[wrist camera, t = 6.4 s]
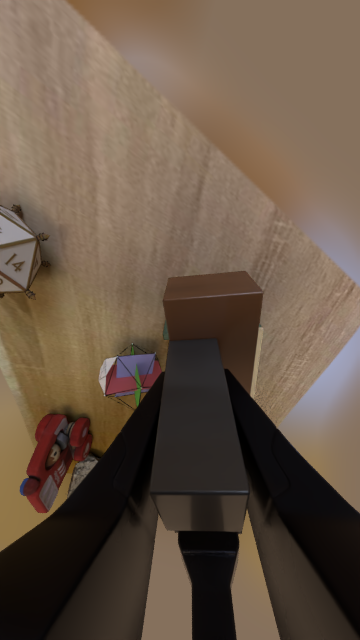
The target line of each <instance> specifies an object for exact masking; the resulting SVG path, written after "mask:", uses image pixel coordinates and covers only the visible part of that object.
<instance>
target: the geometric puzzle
mask: <svg viewBox="0 0 360 640" xmlns="http://www.w3.org/2000/svg"><path fill="white" fill-rule="evenodd" d="M131 345H132V348H131V355H127V356H119V355H117V356H116V357H112V358H107V359H105V361H104V363H103V365H102V367H101V369H100V374H99V383H100V385H101V388H102V390H103V392H104V396H107V395H112V394H116V395H115V396H112V397H118V396H125V395H131V394H135V399H136V404H137V407H138V405H139V404H140V397H141V393H144V392H148V391H149V389H150V388H151V386H152V385H153V384H154V382H155V381H156V379H157V378H158V376H159V375H160V373H161V372H162V370H161V367H160V364H159V360H157V359H158V358H157V359H156V360H157V361H154V360H155V355H156V352H155V353H151V354H139V355H134V350H133V345H134V344H133V343H132V344H131ZM131 345H130V346H131ZM134 346H135V345H134ZM138 347H139V346H138ZM138 347H137V348H138ZM126 349H127V348H126ZM139 349H140V348H139ZM143 349H144V348H143ZM140 350H141V349H140ZM124 351H125V350H124ZM124 351H122V352H124ZM142 351H143V350H142ZM122 352H121V353H122ZM143 352H144V351H143ZM145 353H146V352H145ZM156 356H157V355H156ZM115 360H117V365H113V363H114V361H115ZM115 363H116V361H115ZM118 399H119V398H118ZM119 400H120V399H119ZM121 401H122V400H121ZM116 402H117V401H116ZM122 402H123V401H122ZM118 403H119V402H118ZM124 403H125V402H124ZM120 404H121V403H120ZM125 404H126V403H125ZM122 405H123V404H122ZM124 406H125V405H124ZM128 406H129V405H128ZM126 407H127V406H126ZM129 407H130V406H129ZM129 407H128V408H129ZM131 408H132V407H131ZM131 408H130V409H131ZM132 410H133V408H132ZM134 411H135V410H134Z"/></svg>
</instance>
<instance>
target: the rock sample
mask: <svg viewBox="0 0 360 640" xmlns="http://www.w3.org/2000/svg"><path fill="white" fill-rule="evenodd" d="M99 460H100V458H96V457H95V456H94V455H92V454H91V453H88V456H87V457H86V459H85V460H84V461H79V462H78V463H77V464H76V465H75V468H74V470H73V474H72V478H71V482H70V486H69V490H68V495H67V498H68V497H69V496H70V495H71V493H72V492H73V491H74V490H75V489H76V487H77V486H78V485H79V484H80V483H81V481H82V480H83V479H84V478H85V477H86V475H87V474H88V473H89V472H90V471H91V469H92V468H93V467H94V466H95V465H96V463H97V462H98V461H99Z"/></svg>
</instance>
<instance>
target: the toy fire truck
mask: <svg viewBox="0 0 360 640" xmlns="http://www.w3.org/2000/svg"><path fill="white" fill-rule="evenodd" d="M89 426H90V421H89V419H88V418H79V419H78V420H77V421H76V422H71V423H70V422H68V421H67V418H66V416H65V415H61V414H56V415H53V414H48V415H46V416H44V417H43V418H42V420H41V421H40V423H39V424H38V427H37V429H36V433H35V439H36V441H38V444H37V446H36V448H35V451H34V453H33V456H32V458H31V460H30V463H29V465H28V468H27V475H28V476H29V478H26V479H24V481H23V482H22V484H21V486H20V493H21V495H23V496H27V499H28V500H29V501H30V503H31V504H32V505H33V507H34V508H35V510H36V511H37V512H38V513H47V512H48V511H49V510H50V508H51V507H52V505H53V502H54V500H55V498H56V496H57V493H58V490H59V487H60V485H61V483H62V481H63V479H64V477H65V475H66V473H67V471H68V469H69V466H70V464H71V462H72V460H73V458H74V460H75V461H84V460H85V459H86V457H87V456H88V453H89V451H90V448H91V443H92V436H91V434H88V431H89Z"/></svg>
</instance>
